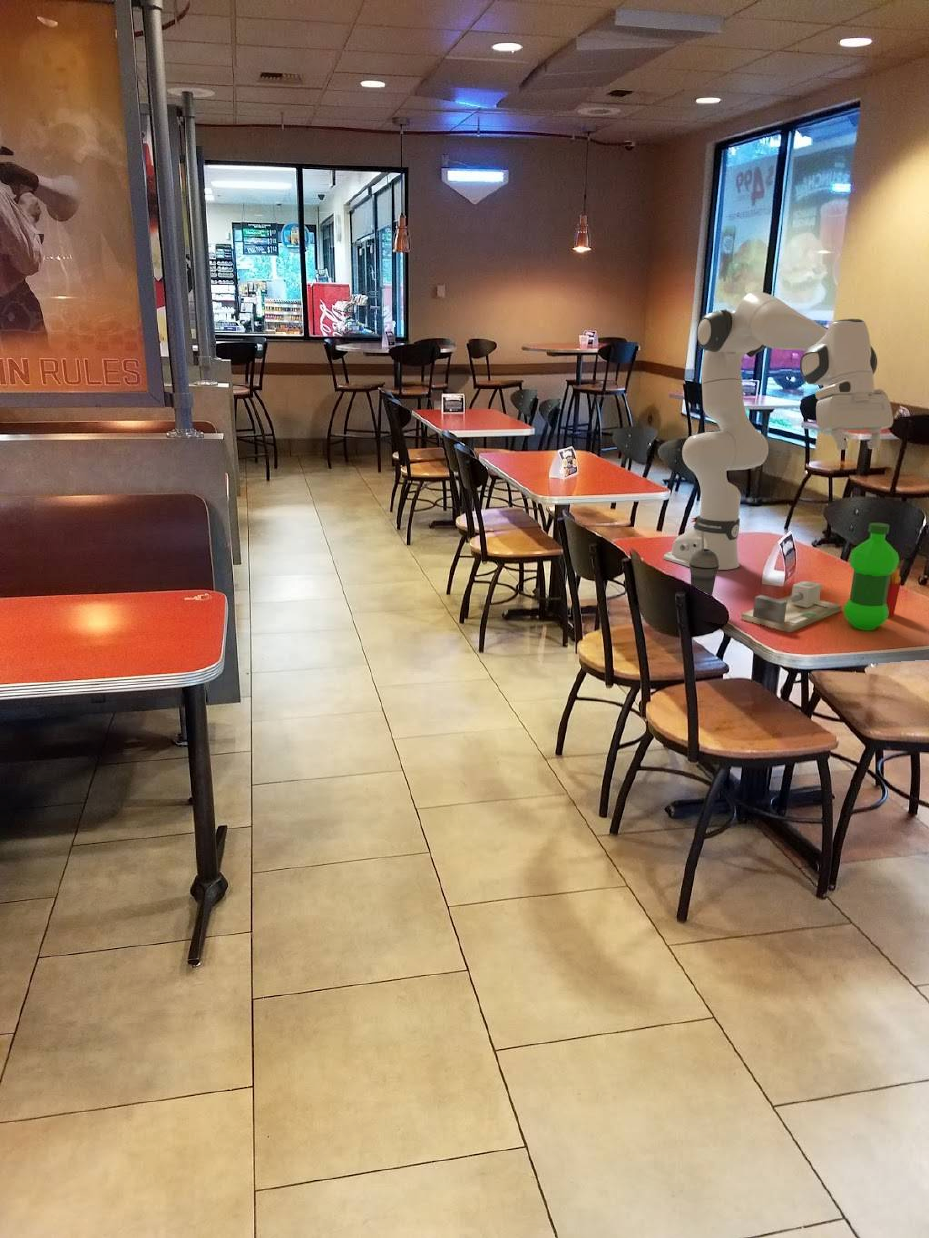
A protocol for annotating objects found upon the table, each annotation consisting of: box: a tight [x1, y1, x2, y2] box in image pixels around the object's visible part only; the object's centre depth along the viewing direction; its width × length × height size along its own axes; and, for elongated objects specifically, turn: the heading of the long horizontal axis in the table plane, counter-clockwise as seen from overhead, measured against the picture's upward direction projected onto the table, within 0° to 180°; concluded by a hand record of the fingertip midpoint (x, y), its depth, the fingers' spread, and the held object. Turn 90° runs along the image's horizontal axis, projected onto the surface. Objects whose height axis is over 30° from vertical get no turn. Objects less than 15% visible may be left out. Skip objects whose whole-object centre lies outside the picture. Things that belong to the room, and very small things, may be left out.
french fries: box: [886, 569, 902, 618], centre depth 228 cm, size 8×4×12 cm, turn 8°
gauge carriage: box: [790, 579, 828, 608], centre depth 228 cm, size 8×9×5 cm
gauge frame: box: [741, 594, 843, 634], centre depth 227 cm, size 13×25×6 cm, turn 132°
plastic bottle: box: [843, 522, 900, 631], centre depth 216 cm, size 10×10×25 cm
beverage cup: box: [689, 531, 719, 596], centre depth 229 cm, size 7×7×20 cm
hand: (858, 448), depth 212 cm, fingers open, 8 cm apart
